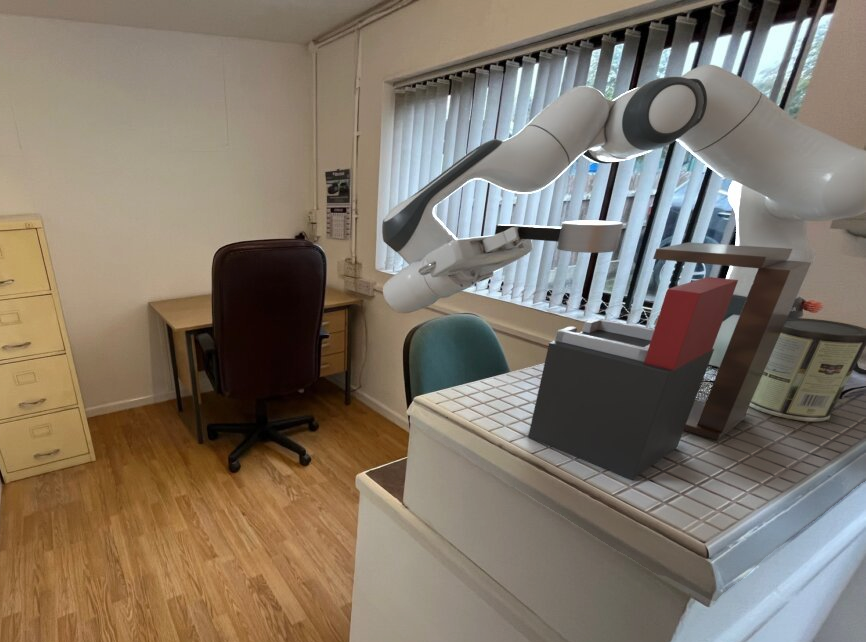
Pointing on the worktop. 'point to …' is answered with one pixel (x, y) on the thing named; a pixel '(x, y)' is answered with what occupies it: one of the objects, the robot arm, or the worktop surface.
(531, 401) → the worktop surface
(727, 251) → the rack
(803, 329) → the coffee can
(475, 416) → the worktop surface
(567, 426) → the coffee maker
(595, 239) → the filter holder
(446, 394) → the worktop surface
